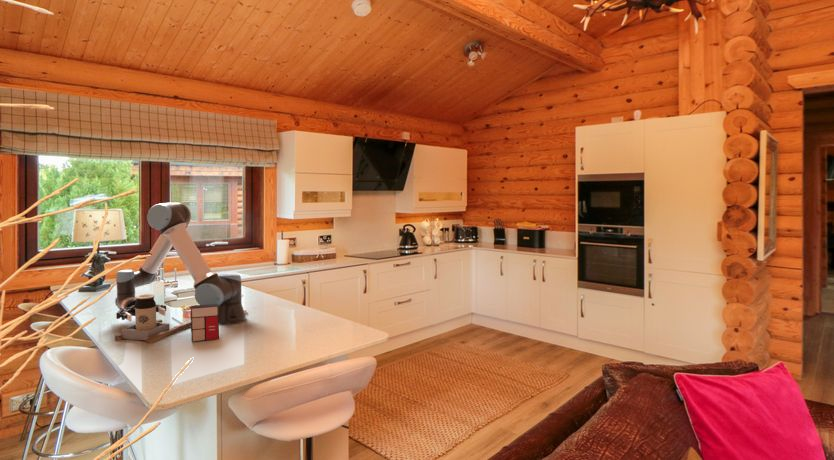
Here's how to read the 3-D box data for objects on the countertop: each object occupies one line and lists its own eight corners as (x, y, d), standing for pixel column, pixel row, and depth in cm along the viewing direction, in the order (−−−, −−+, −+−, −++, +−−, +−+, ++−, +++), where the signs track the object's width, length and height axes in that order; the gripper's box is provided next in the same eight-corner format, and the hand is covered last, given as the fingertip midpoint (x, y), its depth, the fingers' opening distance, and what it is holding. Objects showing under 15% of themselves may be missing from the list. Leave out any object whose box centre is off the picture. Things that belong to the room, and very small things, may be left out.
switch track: (191, 326, 234) (191, 321, 234) (150, 343, 209) (150, 338, 208) (158, 323, 238) (158, 319, 237) (114, 339, 212) (114, 334, 212)
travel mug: (143, 333, 222) (141, 293, 221) (160, 333, 222) (159, 294, 220) (132, 338, 214) (130, 297, 213) (150, 339, 214) (148, 298, 213)
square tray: (169, 331, 223) (169, 323, 223) (148, 340, 211) (147, 331, 210) (144, 329, 226) (144, 321, 226) (122, 338, 213) (121, 329, 213)
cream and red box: (191, 342, 210) (190, 308, 209) (191, 339, 214) (190, 305, 213) (219, 339, 214) (218, 305, 213) (219, 337, 218) (218, 303, 217)
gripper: (161, 309, 239) (178, 318, 224) (102, 319, 222) (115, 329, 207) (161, 294, 239) (177, 302, 224) (101, 302, 221) (115, 311, 206)
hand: (148, 315), depth 215 cm, fingers open, 13 cm apart
